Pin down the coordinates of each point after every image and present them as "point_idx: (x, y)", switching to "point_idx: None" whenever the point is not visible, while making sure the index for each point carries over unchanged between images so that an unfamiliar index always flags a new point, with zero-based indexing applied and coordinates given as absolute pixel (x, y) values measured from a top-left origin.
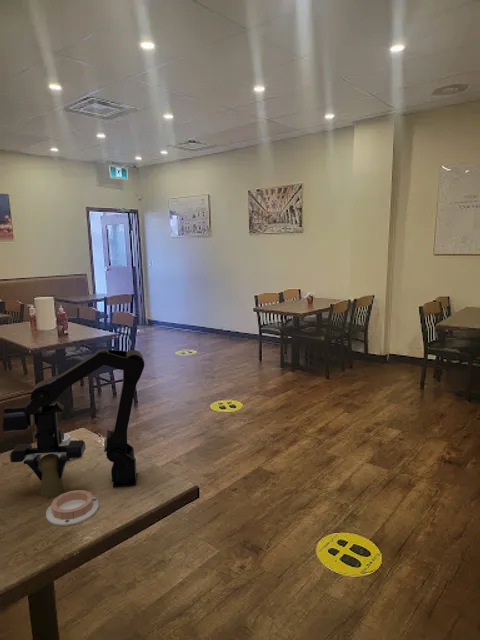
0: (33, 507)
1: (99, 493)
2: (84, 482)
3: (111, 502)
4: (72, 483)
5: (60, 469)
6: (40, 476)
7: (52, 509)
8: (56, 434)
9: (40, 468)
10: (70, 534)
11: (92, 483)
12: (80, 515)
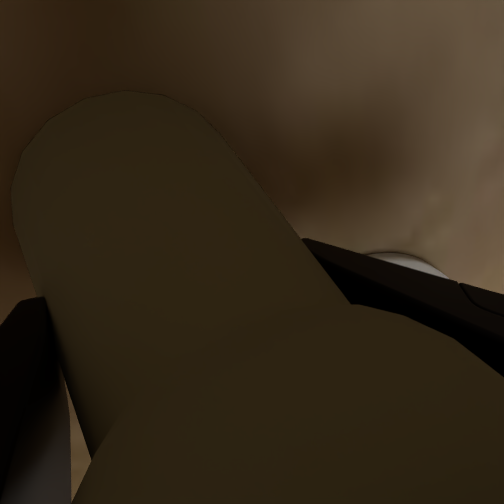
0: (74, 413)
1: (468, 211)
2: (394, 37)
3: (498, 287)
4: (292, 42)
5: None
6: (67, 423)
7: None
8: None
9: (42, 485)
10: None
11: (448, 67)
12: None
